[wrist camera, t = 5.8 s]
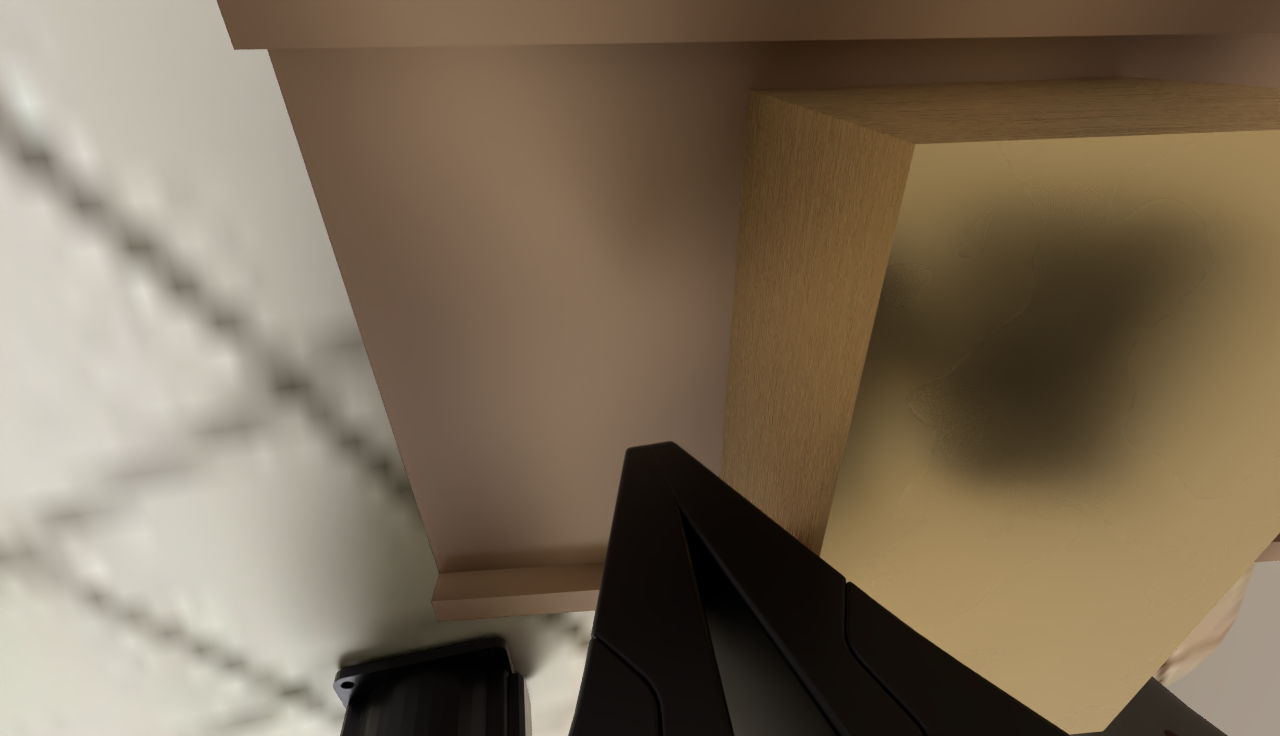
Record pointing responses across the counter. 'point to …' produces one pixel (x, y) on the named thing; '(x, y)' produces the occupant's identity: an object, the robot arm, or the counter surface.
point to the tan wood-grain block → (1016, 361)
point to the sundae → (1157, 716)
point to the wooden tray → (607, 218)
